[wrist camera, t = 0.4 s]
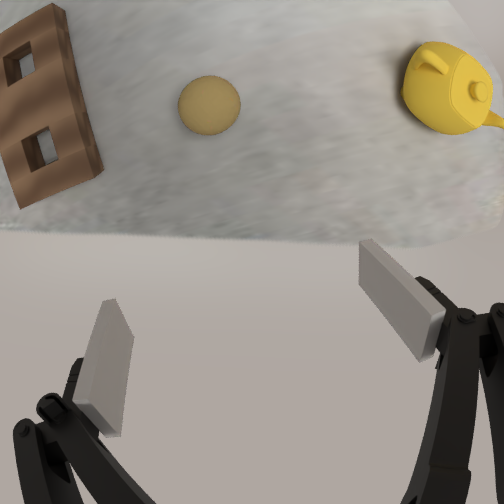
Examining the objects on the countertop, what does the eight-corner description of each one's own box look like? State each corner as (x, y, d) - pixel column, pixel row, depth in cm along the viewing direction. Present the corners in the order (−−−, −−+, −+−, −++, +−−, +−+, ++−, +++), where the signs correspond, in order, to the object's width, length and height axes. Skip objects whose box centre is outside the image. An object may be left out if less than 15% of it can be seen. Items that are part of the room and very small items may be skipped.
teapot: (453, 152, 44) (505, 171, 33) (367, 93, 38) (421, 96, 27) (474, 89, 39) (527, 97, 28) (394, 21, 33) (448, 9, 22)
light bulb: (205, 140, 38) (208, 151, 29) (170, 105, 35) (162, 105, 26) (243, 106, 37) (258, 106, 28) (208, 71, 34) (212, 59, 25)
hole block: (-5, 51, 25) (-21, 48, 21) (65, 10, 26) (52, 2, 22) (34, 199, 37) (20, 209, 33) (104, 169, 37) (94, 177, 33)
